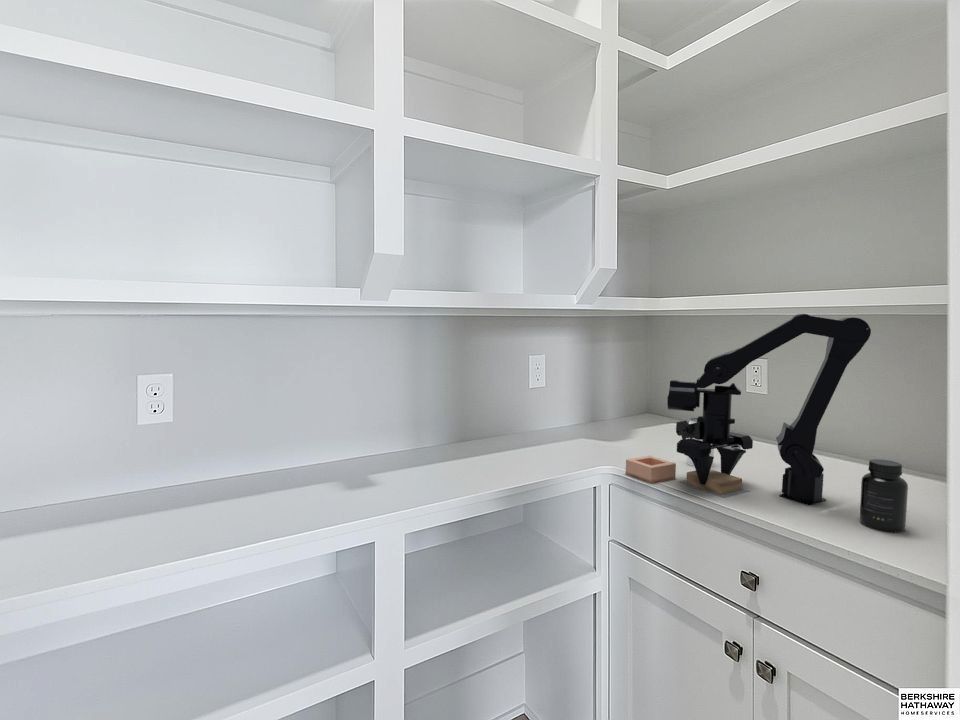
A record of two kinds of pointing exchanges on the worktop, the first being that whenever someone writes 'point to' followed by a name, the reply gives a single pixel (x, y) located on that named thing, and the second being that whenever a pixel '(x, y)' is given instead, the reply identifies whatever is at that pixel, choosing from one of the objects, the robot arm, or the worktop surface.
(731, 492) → the mat
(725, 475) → the lid
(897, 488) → the supplement bottle
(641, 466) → the pink square box
